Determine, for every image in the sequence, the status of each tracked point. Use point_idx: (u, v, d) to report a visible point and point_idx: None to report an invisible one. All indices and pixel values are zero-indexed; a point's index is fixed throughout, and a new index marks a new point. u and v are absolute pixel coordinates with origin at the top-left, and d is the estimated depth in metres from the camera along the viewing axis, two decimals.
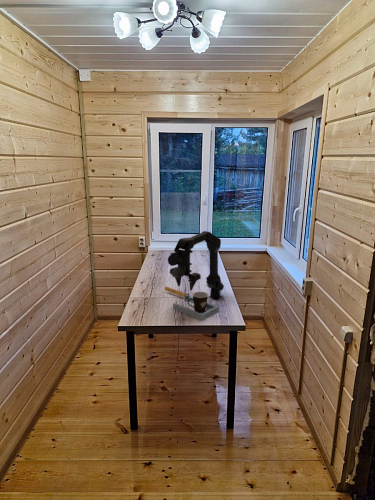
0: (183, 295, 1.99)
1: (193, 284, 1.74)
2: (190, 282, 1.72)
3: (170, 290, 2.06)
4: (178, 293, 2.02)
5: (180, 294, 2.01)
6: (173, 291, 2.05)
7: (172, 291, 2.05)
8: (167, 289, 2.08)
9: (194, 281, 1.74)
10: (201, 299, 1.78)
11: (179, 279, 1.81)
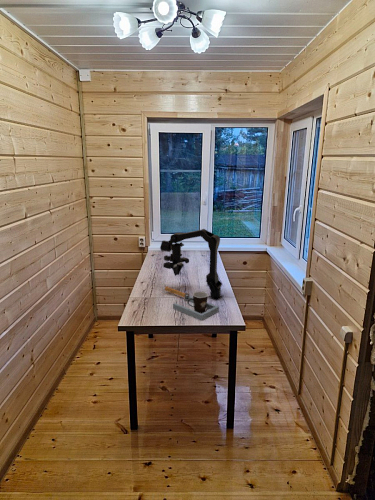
0: (183, 295, 1.99)
1: (175, 271, 2.07)
2: (172, 267, 2.08)
3: (170, 290, 2.06)
4: (178, 293, 2.02)
5: (180, 294, 2.01)
6: (173, 291, 2.05)
7: (172, 291, 2.05)
8: (167, 289, 2.08)
9: (175, 268, 2.06)
10: (201, 299, 1.78)
11: (178, 269, 2.09)
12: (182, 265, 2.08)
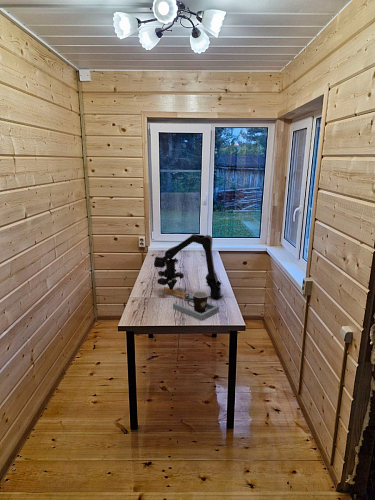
0: (183, 295, 1.99)
1: (170, 286, 2.06)
2: None
3: (169, 290, 2.06)
4: (178, 293, 2.01)
5: (180, 294, 2.00)
6: (172, 291, 2.04)
7: (171, 291, 2.05)
8: (166, 289, 2.07)
9: (170, 284, 2.05)
10: (201, 299, 1.78)
11: None
12: (175, 281, 2.06)
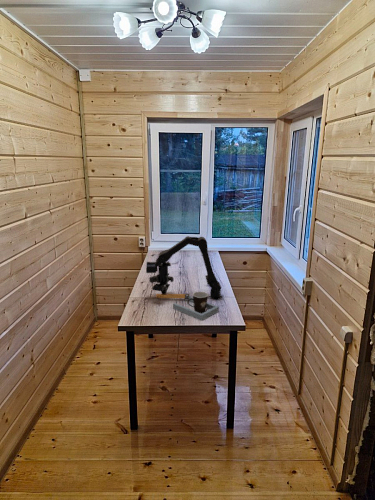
0: (183, 296, 1.97)
1: (163, 291, 1.98)
2: None
3: (164, 296, 1.97)
4: (176, 296, 1.97)
5: (179, 296, 1.97)
6: (168, 296, 1.97)
7: (167, 296, 1.97)
8: (160, 296, 1.97)
9: (164, 289, 1.97)
10: (201, 299, 1.78)
11: None
12: (168, 285, 1.99)
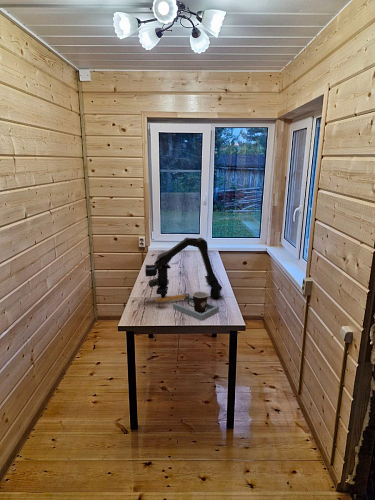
0: (183, 297, 1.96)
1: (163, 294, 1.93)
2: None
3: (165, 299, 1.93)
4: (176, 297, 1.95)
5: (179, 297, 1.96)
6: (169, 298, 1.94)
7: (168, 299, 1.94)
8: (161, 300, 1.92)
9: None
10: (201, 299, 1.78)
11: None
12: (167, 287, 1.95)
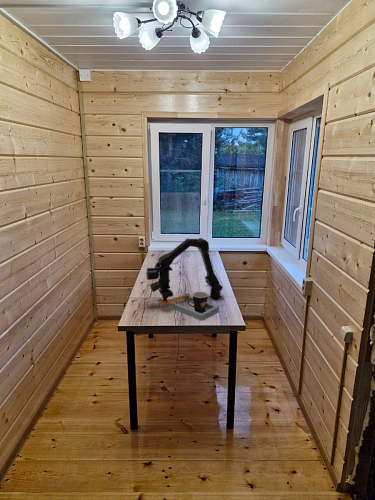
0: (184, 297, 1.96)
1: (166, 297, 1.90)
2: None
3: (168, 301, 1.90)
4: (178, 298, 1.94)
5: (181, 298, 1.95)
6: (172, 300, 1.91)
7: (171, 301, 1.91)
8: (164, 303, 1.88)
9: None
10: (201, 299, 1.78)
11: None
12: None
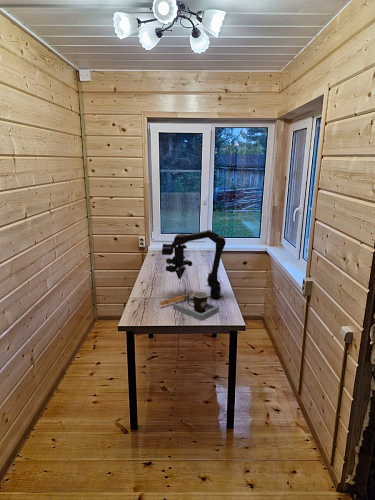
0: (184, 297, 1.96)
1: (178, 274, 1.98)
2: (176, 270, 2.00)
3: (168, 301, 1.89)
4: (178, 299, 1.94)
5: (181, 298, 1.95)
6: (172, 300, 1.91)
7: (171, 301, 1.91)
8: (164, 303, 1.88)
9: (178, 271, 1.98)
10: (201, 299, 1.78)
11: None
12: (184, 268, 1.98)
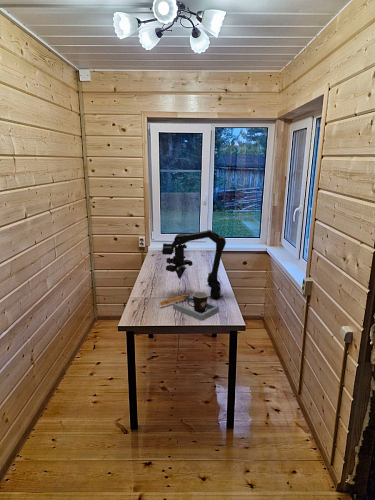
0: (184, 297, 1.96)
1: (178, 273, 1.99)
2: (176, 270, 2.00)
3: (168, 301, 1.89)
4: (178, 299, 1.94)
5: (181, 298, 1.95)
6: (172, 300, 1.91)
7: (171, 301, 1.91)
8: (164, 303, 1.88)
9: (178, 271, 1.98)
10: (201, 299, 1.78)
11: None
12: (184, 268, 1.99)
